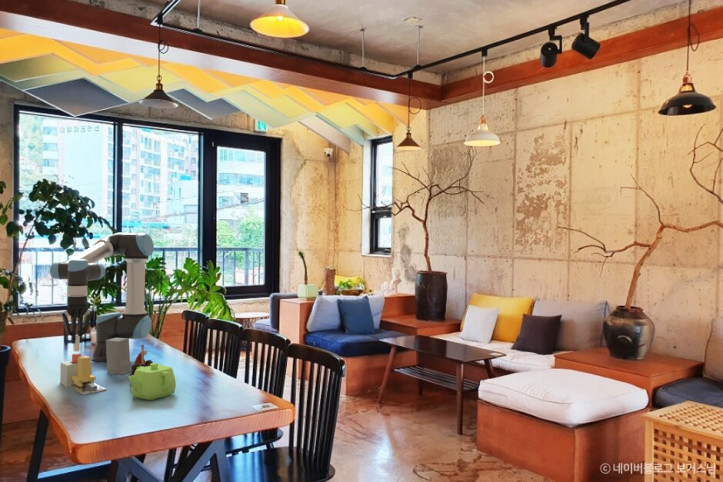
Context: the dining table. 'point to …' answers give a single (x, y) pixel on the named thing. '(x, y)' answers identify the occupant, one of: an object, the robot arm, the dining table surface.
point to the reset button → (75, 358)
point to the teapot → (153, 381)
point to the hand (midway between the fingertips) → (76, 350)
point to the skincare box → (118, 356)
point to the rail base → (85, 391)
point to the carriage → (83, 371)
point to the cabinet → (69, 372)
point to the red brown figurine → (140, 361)
